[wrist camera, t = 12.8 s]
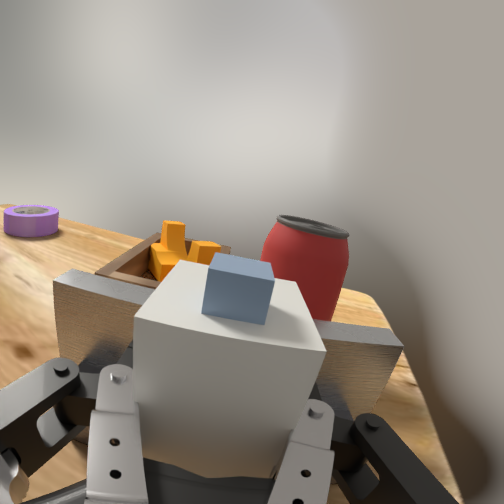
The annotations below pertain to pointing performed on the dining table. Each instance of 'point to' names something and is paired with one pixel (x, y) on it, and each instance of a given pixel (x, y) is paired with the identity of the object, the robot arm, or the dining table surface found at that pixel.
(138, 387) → the white rectangular block
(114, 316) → the rail
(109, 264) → the parts corral
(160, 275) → the pipe clamp
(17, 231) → the masking tape
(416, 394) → the dining table surface
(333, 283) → the beer can
